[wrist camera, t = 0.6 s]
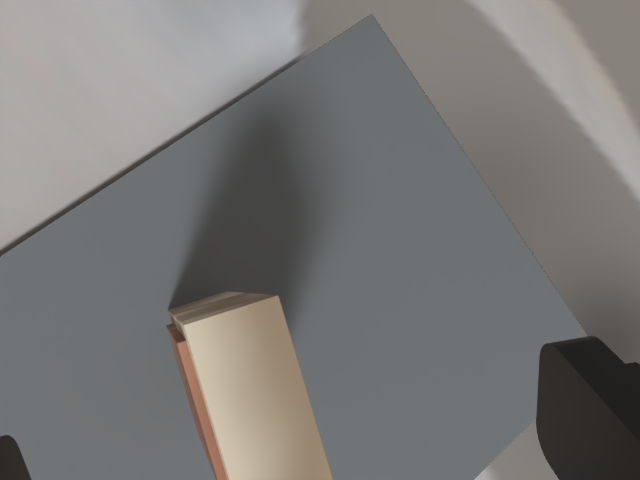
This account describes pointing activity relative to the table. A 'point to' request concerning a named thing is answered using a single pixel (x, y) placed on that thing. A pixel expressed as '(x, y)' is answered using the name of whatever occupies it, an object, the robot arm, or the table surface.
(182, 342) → the card box
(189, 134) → the mat
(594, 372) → the robot arm
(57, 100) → the table surface
